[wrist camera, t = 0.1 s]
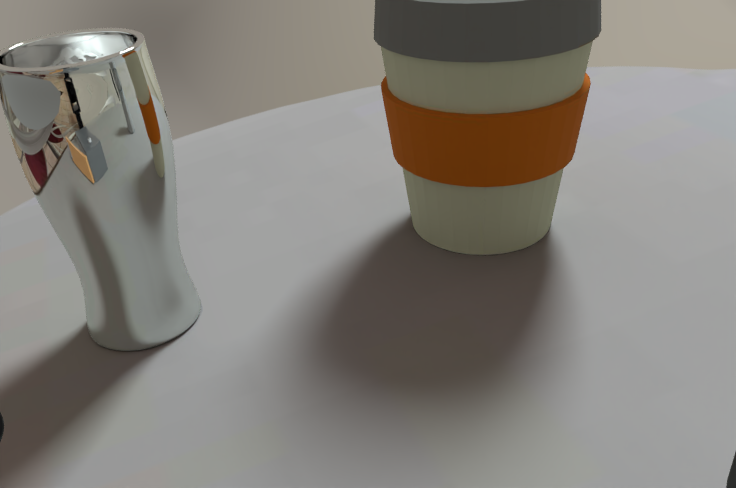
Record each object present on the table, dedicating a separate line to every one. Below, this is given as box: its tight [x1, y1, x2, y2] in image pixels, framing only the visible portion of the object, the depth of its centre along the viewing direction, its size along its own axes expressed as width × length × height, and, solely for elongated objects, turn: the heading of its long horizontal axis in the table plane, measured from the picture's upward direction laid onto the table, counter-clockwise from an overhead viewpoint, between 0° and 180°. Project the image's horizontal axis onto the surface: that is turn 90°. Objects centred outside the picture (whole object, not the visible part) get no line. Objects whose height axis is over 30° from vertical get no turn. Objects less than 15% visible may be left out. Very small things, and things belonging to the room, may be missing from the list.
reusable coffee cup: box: [374, 0, 601, 255], centre depth 42 cm, size 13×13×15 cm
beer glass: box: [0, 28, 201, 351], centre depth 35 cm, size 7×7×15 cm
